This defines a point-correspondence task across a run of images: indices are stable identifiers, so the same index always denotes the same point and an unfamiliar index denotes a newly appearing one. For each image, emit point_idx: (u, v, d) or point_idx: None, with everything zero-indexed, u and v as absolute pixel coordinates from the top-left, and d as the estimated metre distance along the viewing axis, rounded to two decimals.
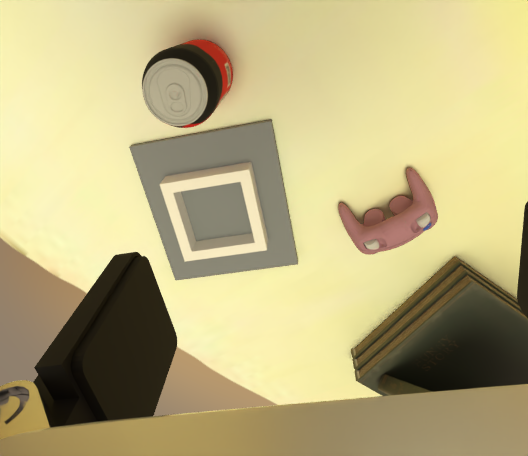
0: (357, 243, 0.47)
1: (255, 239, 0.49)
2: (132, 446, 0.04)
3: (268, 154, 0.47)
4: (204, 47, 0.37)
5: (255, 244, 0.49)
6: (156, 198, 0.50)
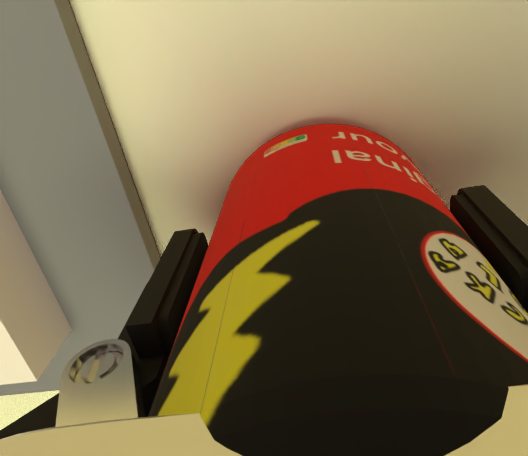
0: None
1: None
2: (132, 446, 0.04)
3: None
4: None
5: None
6: None
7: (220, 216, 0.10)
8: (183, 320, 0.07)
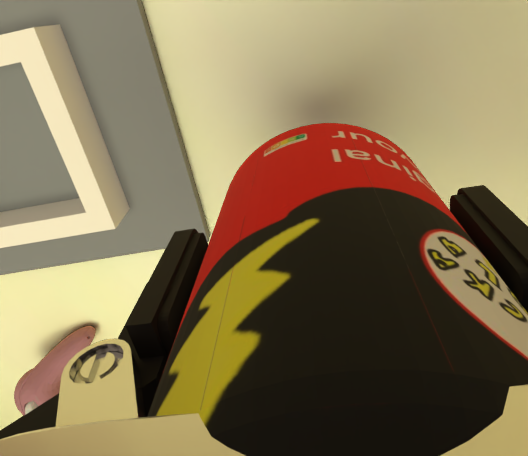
0: (29, 389, 0.28)
1: None
2: (132, 446, 0.04)
3: (148, 237, 0.26)
4: None
5: None
6: None
7: (220, 215, 0.10)
8: (183, 318, 0.07)
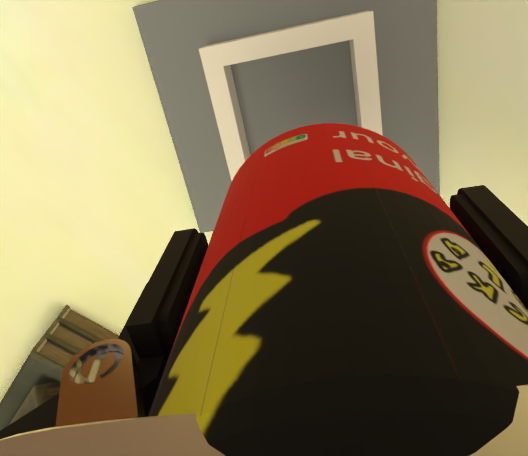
0: None
1: None
2: (132, 446, 0.04)
3: None
4: None
5: None
6: None
7: (220, 216, 0.10)
8: (183, 320, 0.07)
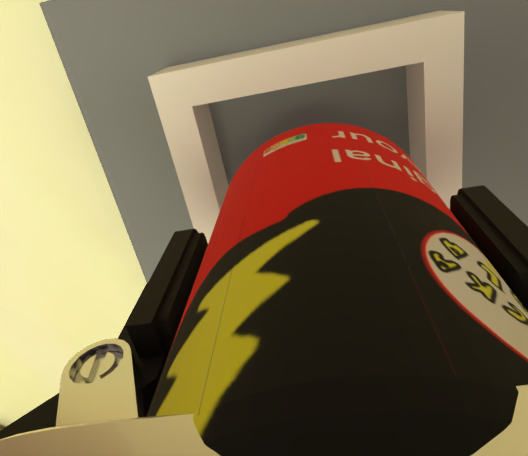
0: None
1: None
2: (132, 446, 0.04)
3: None
4: None
5: None
6: None
7: (219, 216, 0.10)
8: (182, 320, 0.07)
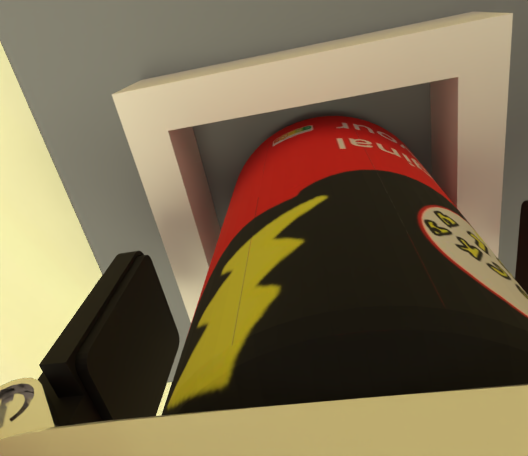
0: None
1: None
2: (132, 446, 0.04)
3: None
4: None
5: None
6: None
7: (232, 200, 0.11)
8: (204, 286, 0.08)
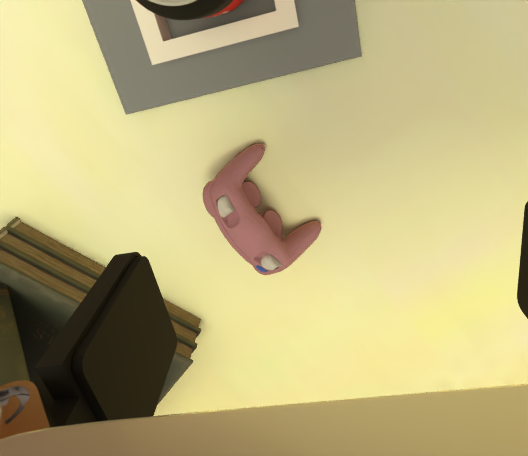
0: (220, 185, 0.31)
1: (169, 42, 0.28)
2: (132, 446, 0.04)
3: (310, 54, 0.30)
4: None
5: (158, 42, 0.28)
6: None
7: None
8: None
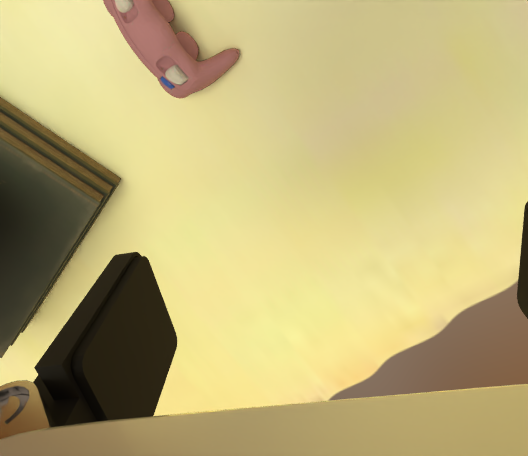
0: None
1: None
2: (132, 446, 0.04)
3: None
4: None
5: None
6: None
7: None
8: None
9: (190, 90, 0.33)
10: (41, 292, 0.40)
